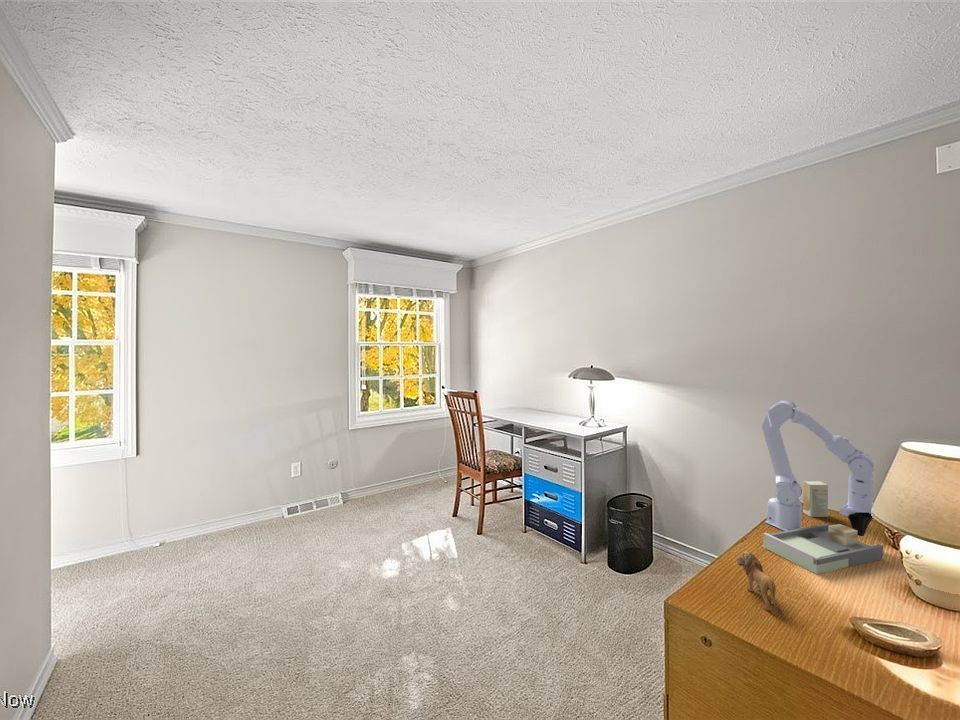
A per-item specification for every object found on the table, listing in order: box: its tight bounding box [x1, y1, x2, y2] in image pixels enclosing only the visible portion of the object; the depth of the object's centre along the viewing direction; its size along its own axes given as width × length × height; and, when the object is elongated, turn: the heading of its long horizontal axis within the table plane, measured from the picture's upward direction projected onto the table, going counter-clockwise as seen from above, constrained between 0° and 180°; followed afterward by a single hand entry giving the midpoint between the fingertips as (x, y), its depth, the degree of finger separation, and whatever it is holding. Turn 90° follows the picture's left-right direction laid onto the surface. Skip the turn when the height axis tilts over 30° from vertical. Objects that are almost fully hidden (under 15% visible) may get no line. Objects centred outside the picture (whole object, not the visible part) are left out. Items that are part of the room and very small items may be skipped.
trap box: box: [762, 523, 884, 575], centre depth 129 cm, size 16×27×4 cm, turn 107°
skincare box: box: [802, 480, 829, 518], centre depth 157 cm, size 6×4×12 cm
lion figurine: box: [735, 550, 783, 614], centre depth 107 cm, size 15×5×9 cm, turn 2°
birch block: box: [828, 523, 858, 546], centre depth 131 cm, size 5×5×4 cm
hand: (858, 534), depth 133 cm, fingers closed
